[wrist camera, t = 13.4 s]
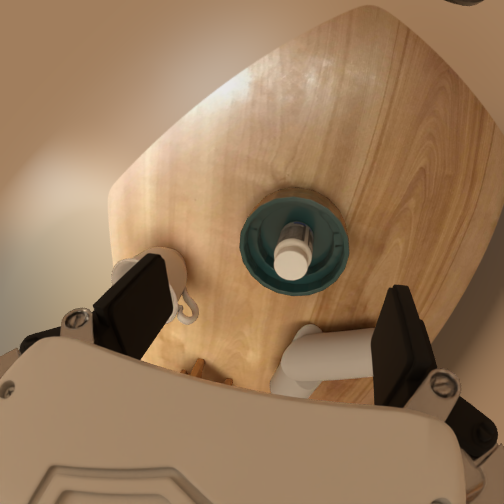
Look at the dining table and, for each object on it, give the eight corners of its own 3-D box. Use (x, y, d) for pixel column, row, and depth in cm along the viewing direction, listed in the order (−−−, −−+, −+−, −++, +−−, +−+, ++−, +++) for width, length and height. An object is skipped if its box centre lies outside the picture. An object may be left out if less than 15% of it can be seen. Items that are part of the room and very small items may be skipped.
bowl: (253, 178, 38) (244, 188, 34) (356, 198, 36) (360, 210, 31) (245, 266, 45) (236, 284, 41) (333, 284, 43) (333, 304, 38)
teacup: (201, 309, 52) (178, 346, 43) (136, 266, 51) (105, 296, 42) (229, 266, 46) (207, 304, 37) (154, 217, 45) (118, 243, 36)
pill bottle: (274, 238, 41) (262, 267, 34) (294, 214, 38) (286, 240, 31) (300, 257, 41) (293, 290, 34) (320, 234, 39) (319, 264, 32)
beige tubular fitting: (297, 295, 44) (262, 367, 54) (304, 348, 35) (262, 412, 45) (387, 311, 45) (340, 375, 56) (407, 357, 36) (348, 416, 47)
